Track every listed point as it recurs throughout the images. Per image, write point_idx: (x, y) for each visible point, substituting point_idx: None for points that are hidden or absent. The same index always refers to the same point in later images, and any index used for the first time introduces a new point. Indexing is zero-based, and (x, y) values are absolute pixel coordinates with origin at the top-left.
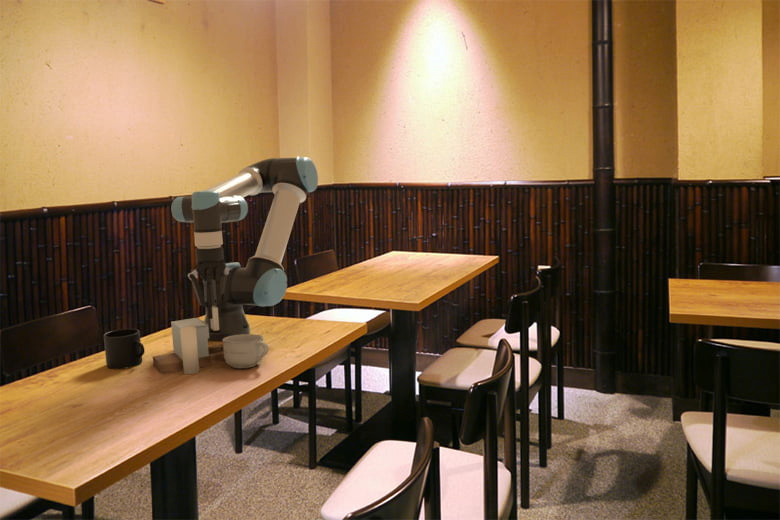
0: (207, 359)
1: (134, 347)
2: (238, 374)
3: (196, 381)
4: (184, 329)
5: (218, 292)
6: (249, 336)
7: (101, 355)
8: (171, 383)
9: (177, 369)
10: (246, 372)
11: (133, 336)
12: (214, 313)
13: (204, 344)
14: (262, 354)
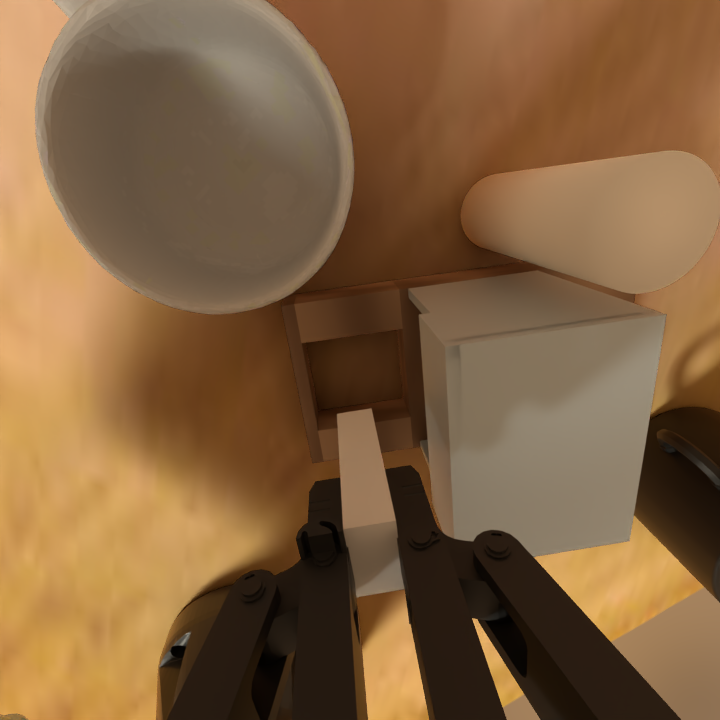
0: (412, 284)
1: (715, 462)
2: (296, 12)
3: (519, 17)
4: (695, 194)
5: (321, 708)
6: (152, 283)
7: (688, 584)
8: (626, 63)
9: None
10: None
11: None
12: (372, 486)
13: (442, 301)
14: None
